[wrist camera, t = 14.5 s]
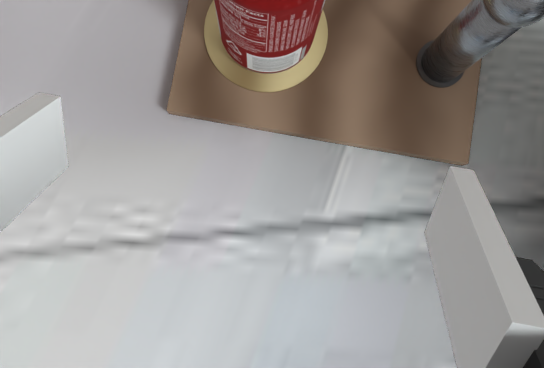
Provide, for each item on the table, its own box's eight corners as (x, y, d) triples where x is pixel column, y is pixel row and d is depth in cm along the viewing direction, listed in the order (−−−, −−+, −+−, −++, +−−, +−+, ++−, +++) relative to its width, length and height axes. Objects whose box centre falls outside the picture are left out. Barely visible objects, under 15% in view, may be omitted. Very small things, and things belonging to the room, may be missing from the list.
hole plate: (484, -11, 36) (493, -20, 35) (462, 165, 35) (469, 163, 33) (204, -63, 36) (202, -73, 35) (169, 113, 34) (165, 109, 33)
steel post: (467, 45, 35) (582, -57, 22) (461, 91, 34) (575, 13, 22) (419, 36, 35) (509, -71, 22) (413, 82, 34) (500, -1, 22)
